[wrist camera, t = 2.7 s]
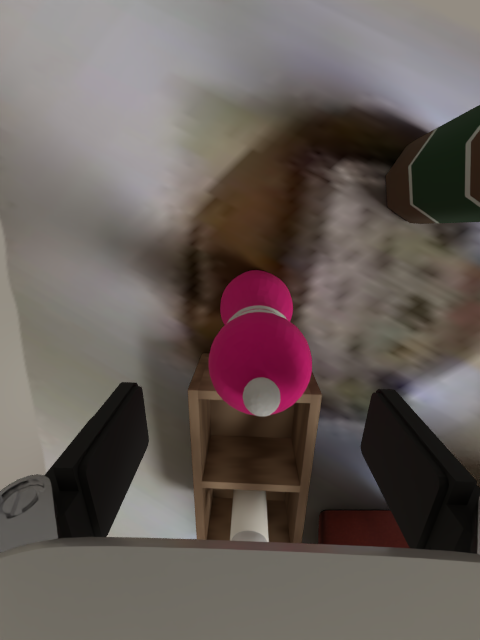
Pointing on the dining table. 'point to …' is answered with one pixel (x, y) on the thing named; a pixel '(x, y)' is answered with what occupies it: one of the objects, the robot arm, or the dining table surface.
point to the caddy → (250, 458)
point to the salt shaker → (249, 516)
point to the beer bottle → (439, 174)
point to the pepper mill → (259, 347)
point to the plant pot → (360, 529)
